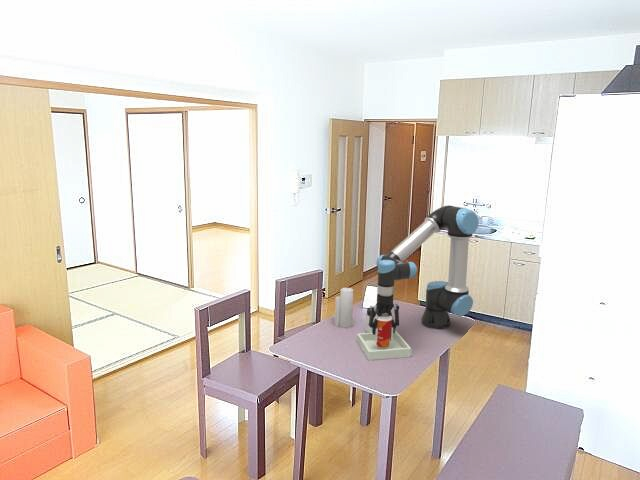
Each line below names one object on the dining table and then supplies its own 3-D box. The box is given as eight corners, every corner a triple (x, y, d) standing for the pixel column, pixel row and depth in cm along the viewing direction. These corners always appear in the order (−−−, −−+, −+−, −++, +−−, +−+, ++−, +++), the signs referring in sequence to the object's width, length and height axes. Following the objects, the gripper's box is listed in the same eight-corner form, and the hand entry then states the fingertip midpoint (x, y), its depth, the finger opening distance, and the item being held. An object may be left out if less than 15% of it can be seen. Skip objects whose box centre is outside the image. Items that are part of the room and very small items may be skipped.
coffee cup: (372, 341, 227) (373, 311, 223) (389, 340, 227) (390, 311, 224) (375, 349, 219) (376, 318, 215) (393, 348, 219) (394, 318, 216)
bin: (395, 338, 235) (396, 330, 234) (410, 356, 216) (411, 348, 215) (356, 341, 231) (357, 333, 230) (368, 360, 212) (369, 351, 211)
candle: (354, 325, 251) (355, 289, 246) (346, 329, 245) (347, 292, 241) (338, 319, 258) (339, 284, 254) (329, 323, 253) (330, 287, 248)
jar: (363, 329, 245) (363, 307, 243) (376, 327, 248) (377, 305, 246) (371, 336, 237) (372, 313, 235) (385, 333, 240) (386, 311, 238)
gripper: (402, 290, 223) (400, 335, 228) (362, 292, 219) (360, 338, 224) (408, 295, 216) (406, 342, 221) (366, 297, 212) (365, 345, 217)
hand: (383, 340), depth 222 cm, fingers closed on coffee cup, 7 cm apart
